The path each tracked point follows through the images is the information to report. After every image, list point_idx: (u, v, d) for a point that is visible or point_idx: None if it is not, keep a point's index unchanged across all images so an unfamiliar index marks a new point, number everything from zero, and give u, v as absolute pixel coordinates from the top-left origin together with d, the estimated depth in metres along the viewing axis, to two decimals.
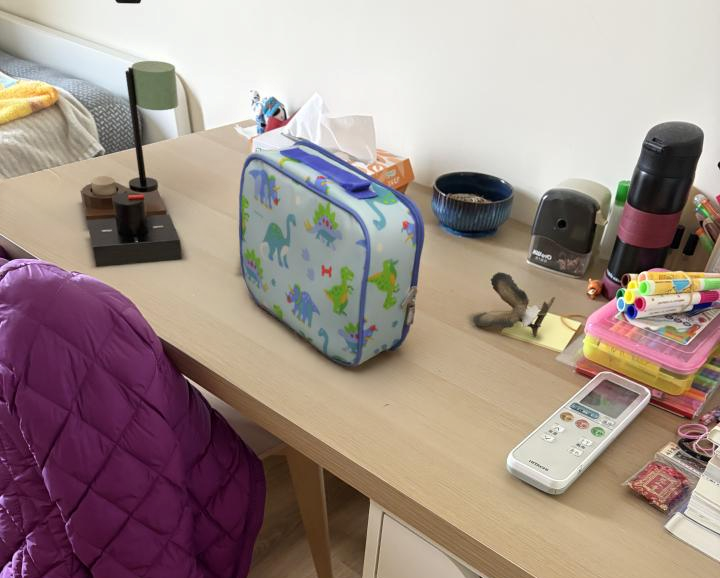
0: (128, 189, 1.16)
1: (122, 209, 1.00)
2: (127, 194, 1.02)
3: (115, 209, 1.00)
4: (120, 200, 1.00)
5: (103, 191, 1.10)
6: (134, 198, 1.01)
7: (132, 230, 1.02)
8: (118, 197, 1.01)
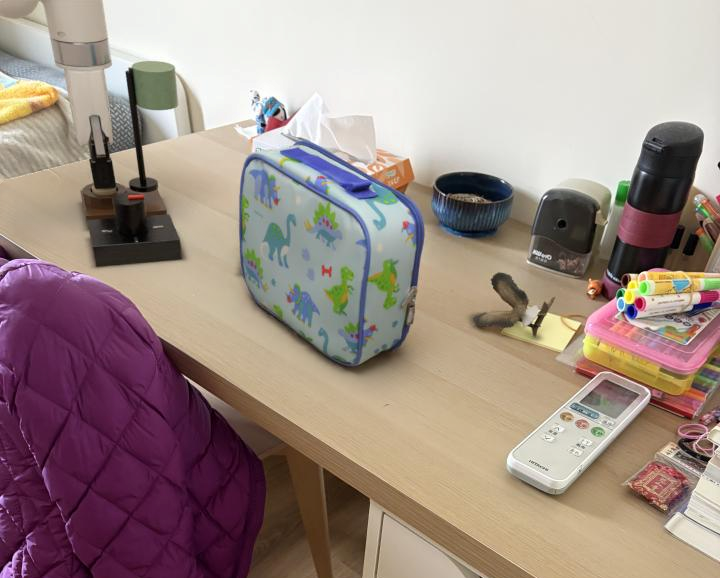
0: (128, 189, 1.16)
1: (122, 209, 1.00)
2: (127, 194, 1.02)
3: (115, 209, 1.00)
4: (120, 200, 1.00)
5: None
6: (134, 198, 1.01)
7: (132, 230, 1.02)
8: (118, 197, 1.01)
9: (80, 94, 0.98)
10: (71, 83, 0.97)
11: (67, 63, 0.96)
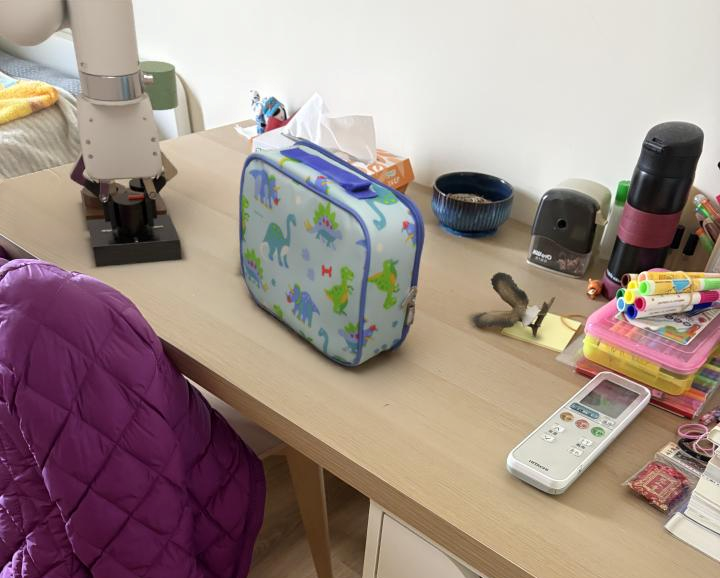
0: (128, 189, 1.16)
1: (122, 209, 1.00)
2: (127, 194, 1.02)
3: (115, 209, 1.00)
4: (120, 200, 1.00)
5: None
6: (134, 198, 1.01)
7: (132, 230, 1.02)
8: (118, 197, 1.01)
9: None
10: None
11: None
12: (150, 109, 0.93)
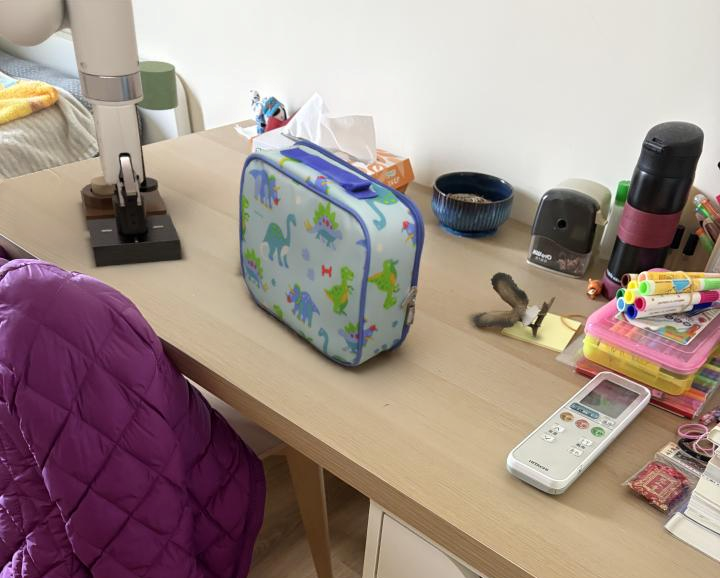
0: None
1: (144, 205, 1.01)
2: (117, 198, 1.00)
3: None
4: None
5: (103, 192, 1.10)
6: None
7: (147, 223, 1.04)
8: None
9: (110, 131, 0.90)
10: (100, 119, 0.89)
11: (96, 97, 0.89)
12: None
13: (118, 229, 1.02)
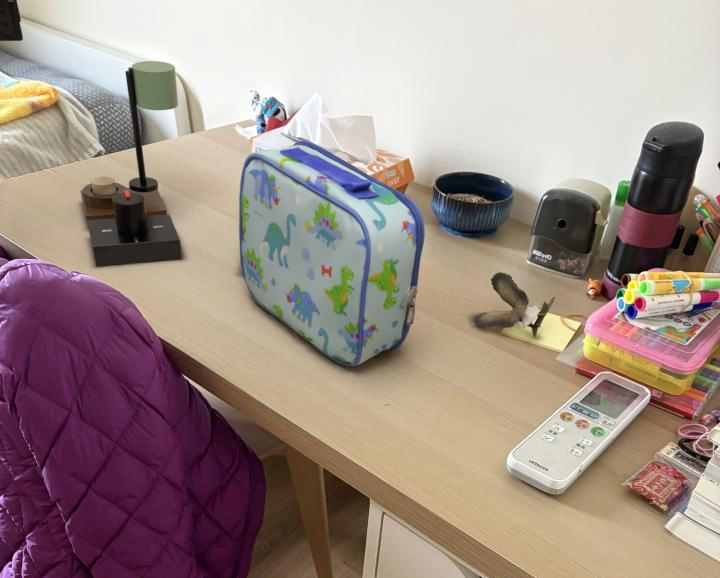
0: (128, 189, 1.16)
1: (143, 205, 1.01)
2: (117, 198, 1.00)
3: (137, 211, 1.00)
4: (133, 201, 1.00)
5: (103, 192, 1.10)
6: None
7: (147, 223, 1.04)
8: (124, 202, 1.00)
9: None
10: None
11: None
12: None
13: (118, 229, 1.02)
